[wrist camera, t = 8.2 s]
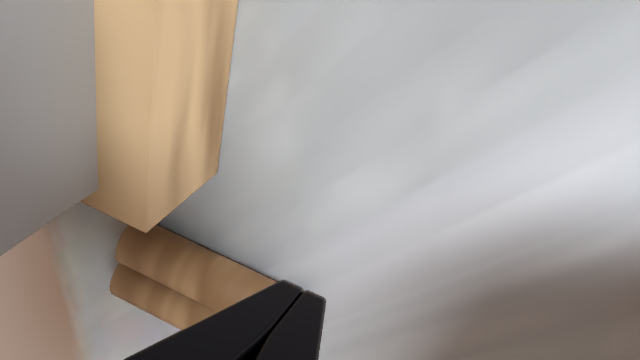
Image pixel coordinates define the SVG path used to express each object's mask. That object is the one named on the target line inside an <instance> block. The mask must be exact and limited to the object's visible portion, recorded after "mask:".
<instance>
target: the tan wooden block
mask: <svg viewBox="0 0 640 360" xmlns="http://www.w3.org/2000/svg"><path fill="white" fill-rule="evenodd" d="M237 8H238V0H94V26H95V73H96V121H97V169H98V190H96V191H95V192H93V193H92V194H90V195H89V196H87V197H86V198H84V199H83V200H81V201H80V202H82V203H84V204H86V205H89V206H91V207H93V208H95V209H97V210H99V211H101V212H103V213H105V214H107V215H109V216H111V217H114V218H116V219H118V220H120V221H122V222H124V223H126V224H128V225H130V226H132V227H134V228H136V229H139V230H141V231H143V232H145V233H147V232H148V231H149V230H150V229H152V228H153V227H154V226H155V225H156V224H157V223H159V222H160V221H161V220H162V219H163V218H164V217H166V216H167V215H168V214H169V213H170V212H172V211H173V210H174V209H175V208H176V207H177V206H179V205H180V204H181V203H182V202H183V201H184V200H186V199H187V198H188V197H189V196H190V195H192V194H193V193H194V192H195V191H196V190H197V189H199V188H200V187H201V186H202V185H203V184H204V183H206V182H207V181H208V180H209V179H210V178H211V177H213V176H214V175H215V174H216V173H217V170H218V162H219V154H220V146H221V138H222V130H223V122H224V113H225V105H226V97H227V89H228V81H229V73H230V65H231V56H232V48H233V40H234V32H235V24H236V16H237Z"/></svg>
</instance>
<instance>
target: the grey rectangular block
mask: <svg viewBox="0 0 640 360" xmlns="http://www.w3.org/2000/svg"><path fill="white" fill-rule="evenodd" d="M96 190H98V169H97V121H96V73H95V26H94V0H0V256H1V255H2V254H4V253H5V252H7V251H8V250H10V249H11V248H12V247H14V246H15V245H17V244H18V243H20V242H21V241H23V240H24V239H26V238H27V237H29V236H30V235H32V234H33V233H35V232H36V231H37V230H39V229H40V228H42V227H43V226H45V225H46V224H48V223H49V222H51V221H52V220H54V219H55V218H57V217H58V216H59V215H61V214H62V213H64V212H65V211H67V210H68V209H70V208H71V207H73V206H74V205H76V204H77V203H78V202H80V201H81V200H83V199H84V198H86V197H87V196H89V195H90V194H92V193H93V192H95V191H96Z"/></svg>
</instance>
